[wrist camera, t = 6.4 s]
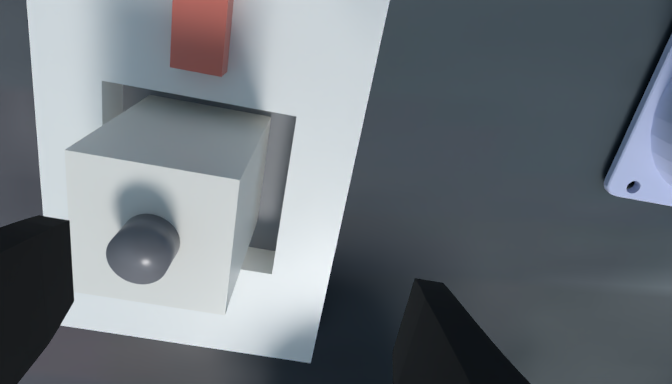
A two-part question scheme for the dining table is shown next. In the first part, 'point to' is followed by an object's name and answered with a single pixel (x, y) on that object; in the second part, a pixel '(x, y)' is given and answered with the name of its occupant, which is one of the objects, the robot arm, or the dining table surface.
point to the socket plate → (230, 93)
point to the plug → (166, 203)
